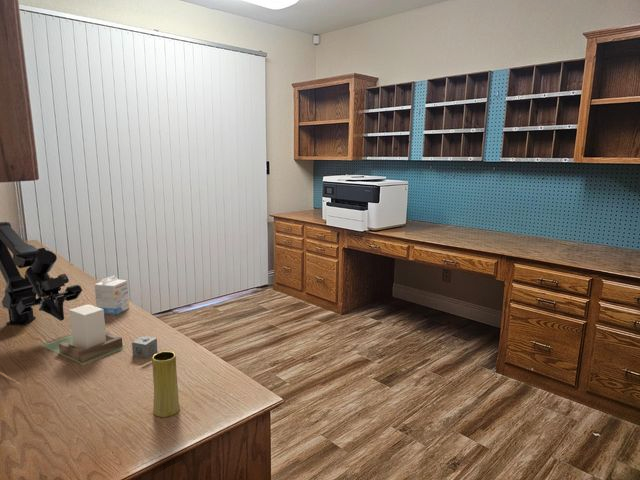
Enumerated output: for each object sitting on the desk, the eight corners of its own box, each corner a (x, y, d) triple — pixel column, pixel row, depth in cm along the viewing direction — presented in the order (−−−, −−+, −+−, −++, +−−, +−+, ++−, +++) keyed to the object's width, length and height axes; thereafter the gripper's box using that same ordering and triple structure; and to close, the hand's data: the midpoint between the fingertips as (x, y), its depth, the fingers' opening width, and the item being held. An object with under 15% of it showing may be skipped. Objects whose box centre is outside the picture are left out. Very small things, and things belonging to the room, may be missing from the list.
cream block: (73, 349, 134) (69, 309, 131) (91, 342, 139) (88, 304, 136) (88, 355, 130) (84, 315, 127) (106, 348, 135) (103, 309, 132)
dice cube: (146, 360, 129) (145, 344, 128) (132, 357, 131) (131, 342, 130) (157, 353, 134) (156, 338, 133) (144, 350, 136) (143, 335, 135)
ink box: (115, 315, 163) (113, 281, 160) (96, 313, 164) (93, 279, 162) (129, 308, 171) (127, 275, 168) (111, 306, 173) (108, 273, 170)
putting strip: (41, 346, 136) (41, 345, 136) (84, 331, 148) (84, 330, 148) (83, 366, 124) (83, 364, 124) (126, 348, 136) (126, 347, 136)
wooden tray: (59, 352, 131) (58, 343, 131) (99, 337, 142) (99, 329, 142) (82, 362, 125) (81, 353, 125) (122, 346, 136) (122, 337, 136)
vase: (157, 403, 107) (154, 350, 105) (182, 402, 108) (180, 349, 105) (149, 418, 102) (146, 362, 99) (176, 417, 102) (174, 361, 99)
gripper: (17, 274, 131) (39, 316, 128) (77, 261, 147) (98, 299, 144) (7, 293, 137) (28, 334, 134) (66, 279, 153) (86, 315, 150)
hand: (62, 319), depth 140 cm, fingers closed
